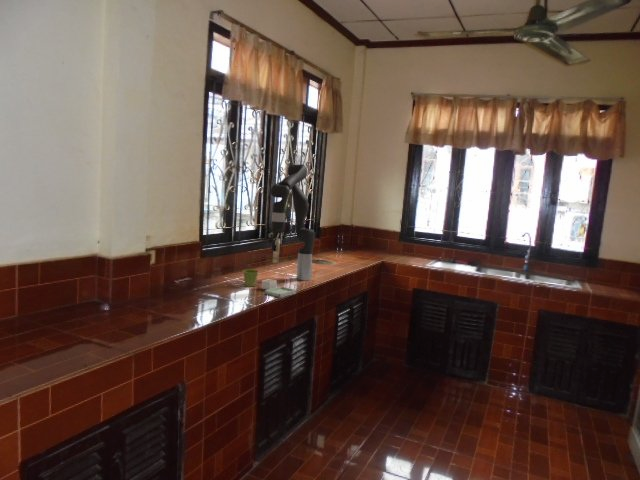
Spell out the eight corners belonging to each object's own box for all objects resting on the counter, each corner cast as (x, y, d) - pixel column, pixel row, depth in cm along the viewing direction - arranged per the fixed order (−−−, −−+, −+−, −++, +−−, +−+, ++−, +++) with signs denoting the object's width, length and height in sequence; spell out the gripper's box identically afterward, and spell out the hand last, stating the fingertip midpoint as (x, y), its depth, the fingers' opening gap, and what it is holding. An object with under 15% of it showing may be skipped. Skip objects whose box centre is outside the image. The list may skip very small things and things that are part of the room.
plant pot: (259, 284, 281) (260, 270, 279) (256, 287, 271) (256, 273, 270) (244, 283, 281) (245, 269, 280) (240, 286, 272) (241, 271, 271)
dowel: (275, 261, 266) (276, 237, 264) (279, 262, 264) (281, 238, 262) (271, 262, 263) (272, 238, 262) (275, 263, 261) (277, 238, 260)
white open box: (268, 287, 275) (268, 278, 274) (276, 289, 272) (276, 280, 271) (261, 288, 270) (261, 280, 269) (269, 290, 267) (270, 282, 266)
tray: (281, 289, 271) (281, 286, 271) (296, 293, 265) (296, 289, 265) (264, 293, 259) (264, 290, 259) (279, 297, 253) (280, 294, 252)
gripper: (281, 219, 269) (279, 249, 271) (264, 220, 257) (262, 250, 259) (291, 221, 264) (289, 250, 266) (274, 221, 253) (272, 252, 255)
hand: (276, 250), depth 263 cm, fingers closed on dowel, 3 cm apart
